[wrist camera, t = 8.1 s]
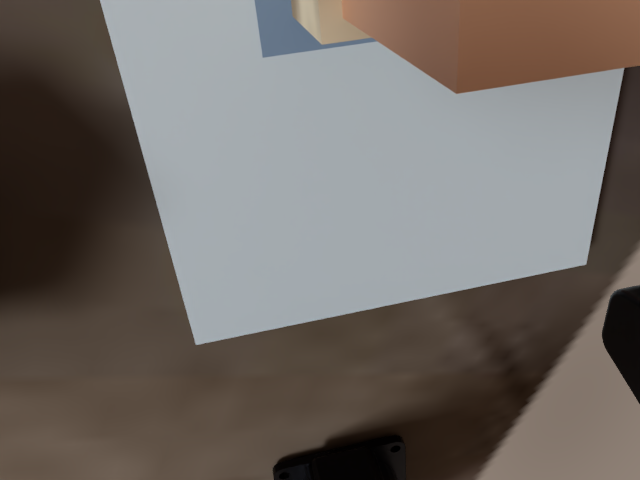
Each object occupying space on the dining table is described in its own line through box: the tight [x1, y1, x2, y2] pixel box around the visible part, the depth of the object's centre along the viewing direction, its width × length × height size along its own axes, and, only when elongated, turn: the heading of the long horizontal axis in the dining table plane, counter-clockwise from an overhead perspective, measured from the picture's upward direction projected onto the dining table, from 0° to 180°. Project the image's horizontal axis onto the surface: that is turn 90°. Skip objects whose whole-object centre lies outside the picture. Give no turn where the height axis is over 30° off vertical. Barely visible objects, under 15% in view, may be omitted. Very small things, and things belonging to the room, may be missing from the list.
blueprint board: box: [100, 0, 624, 345], centre depth 17 cm, size 18×16×1 cm
